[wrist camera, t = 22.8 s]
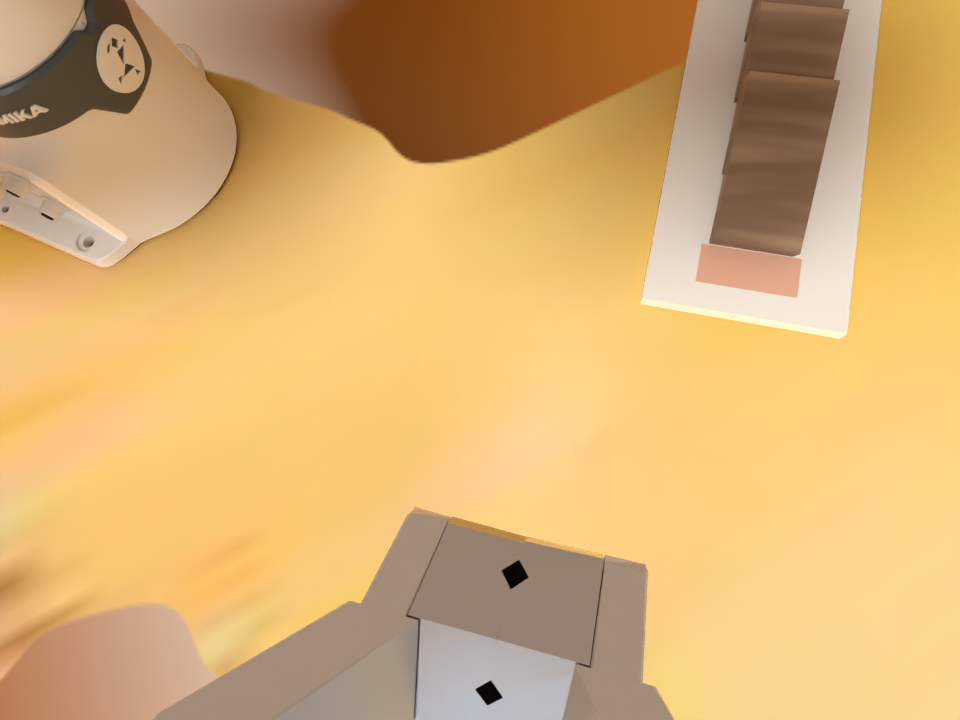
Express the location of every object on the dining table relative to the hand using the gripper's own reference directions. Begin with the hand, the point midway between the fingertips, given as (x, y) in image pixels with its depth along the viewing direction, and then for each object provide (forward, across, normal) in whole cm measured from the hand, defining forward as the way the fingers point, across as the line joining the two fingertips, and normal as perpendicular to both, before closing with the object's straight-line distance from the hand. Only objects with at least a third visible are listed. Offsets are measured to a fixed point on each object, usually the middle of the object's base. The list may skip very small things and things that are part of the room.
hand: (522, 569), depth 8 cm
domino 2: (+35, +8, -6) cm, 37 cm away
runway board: (+43, +8, -1) cm, 44 cm away
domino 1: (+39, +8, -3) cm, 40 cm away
